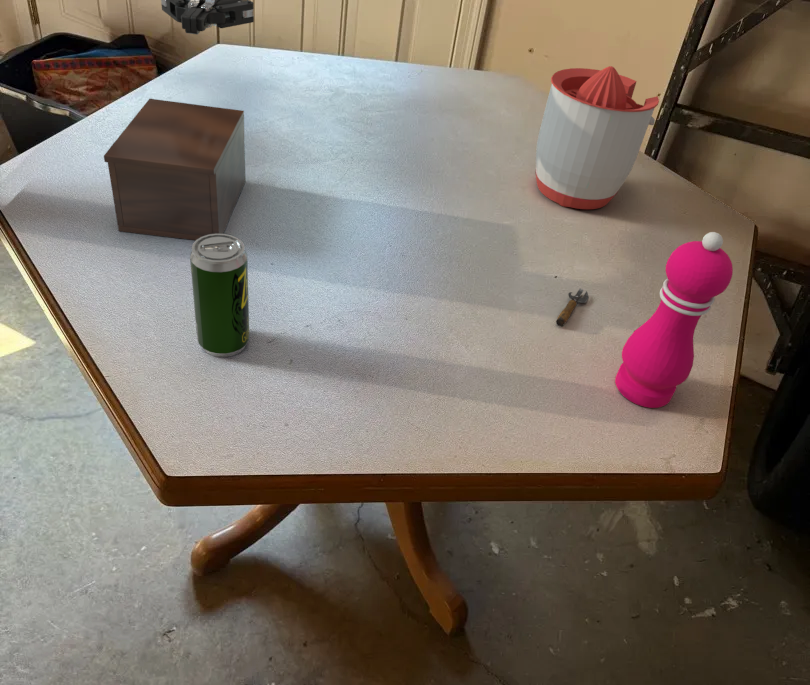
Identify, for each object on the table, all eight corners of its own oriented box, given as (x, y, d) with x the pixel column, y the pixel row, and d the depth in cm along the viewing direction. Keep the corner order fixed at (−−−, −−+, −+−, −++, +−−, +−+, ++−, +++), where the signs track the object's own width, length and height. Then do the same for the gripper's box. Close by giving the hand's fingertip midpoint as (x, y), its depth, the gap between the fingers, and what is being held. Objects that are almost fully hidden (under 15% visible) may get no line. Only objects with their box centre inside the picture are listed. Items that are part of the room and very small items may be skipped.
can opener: (562, 328, 84) (564, 321, 83) (545, 320, 85) (547, 312, 84) (592, 296, 90) (594, 289, 89) (575, 288, 91) (578, 281, 90)
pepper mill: (617, 407, 75) (689, 249, 62) (604, 362, 80) (668, 209, 68) (683, 415, 75) (768, 259, 62) (666, 370, 81) (741, 218, 68)
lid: (214, 175, 82) (213, 169, 82) (104, 162, 82) (103, 155, 81) (244, 116, 96) (243, 110, 95) (150, 104, 95) (149, 98, 94)
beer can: (199, 361, 72) (190, 264, 65) (196, 328, 76) (187, 233, 69) (252, 356, 74) (250, 261, 66) (246, 324, 78) (244, 231, 70)
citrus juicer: (649, 215, 109) (700, 88, 97) (551, 221, 104) (591, 87, 91) (599, 168, 120) (639, 48, 108) (508, 171, 115) (538, 45, 102)
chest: (219, 243, 89) (215, 172, 83) (118, 231, 88) (106, 159, 82) (245, 181, 102) (244, 116, 96) (157, 171, 101) (150, 104, 95)
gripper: (172, -47, 98) (133, -15, 85) (268, -33, 99) (243, 1, 86) (177, 10, 103) (140, 49, 90) (268, 23, 104) (244, 63, 91)
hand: (190, 25), depth 88 cm, fingers closed
